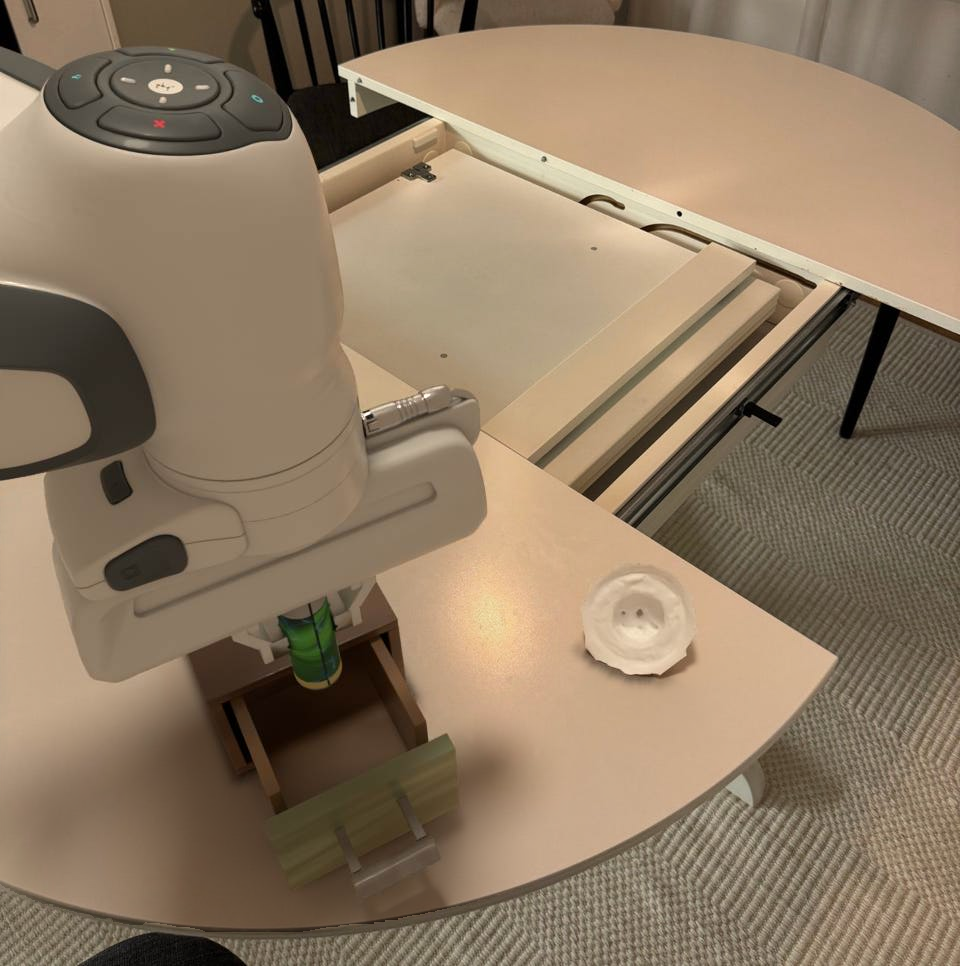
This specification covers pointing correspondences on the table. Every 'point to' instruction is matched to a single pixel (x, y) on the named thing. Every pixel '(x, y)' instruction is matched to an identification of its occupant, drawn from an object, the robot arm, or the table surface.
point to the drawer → (348, 770)
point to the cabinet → (276, 670)
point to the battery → (312, 644)
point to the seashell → (638, 619)
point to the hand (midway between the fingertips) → (308, 634)
